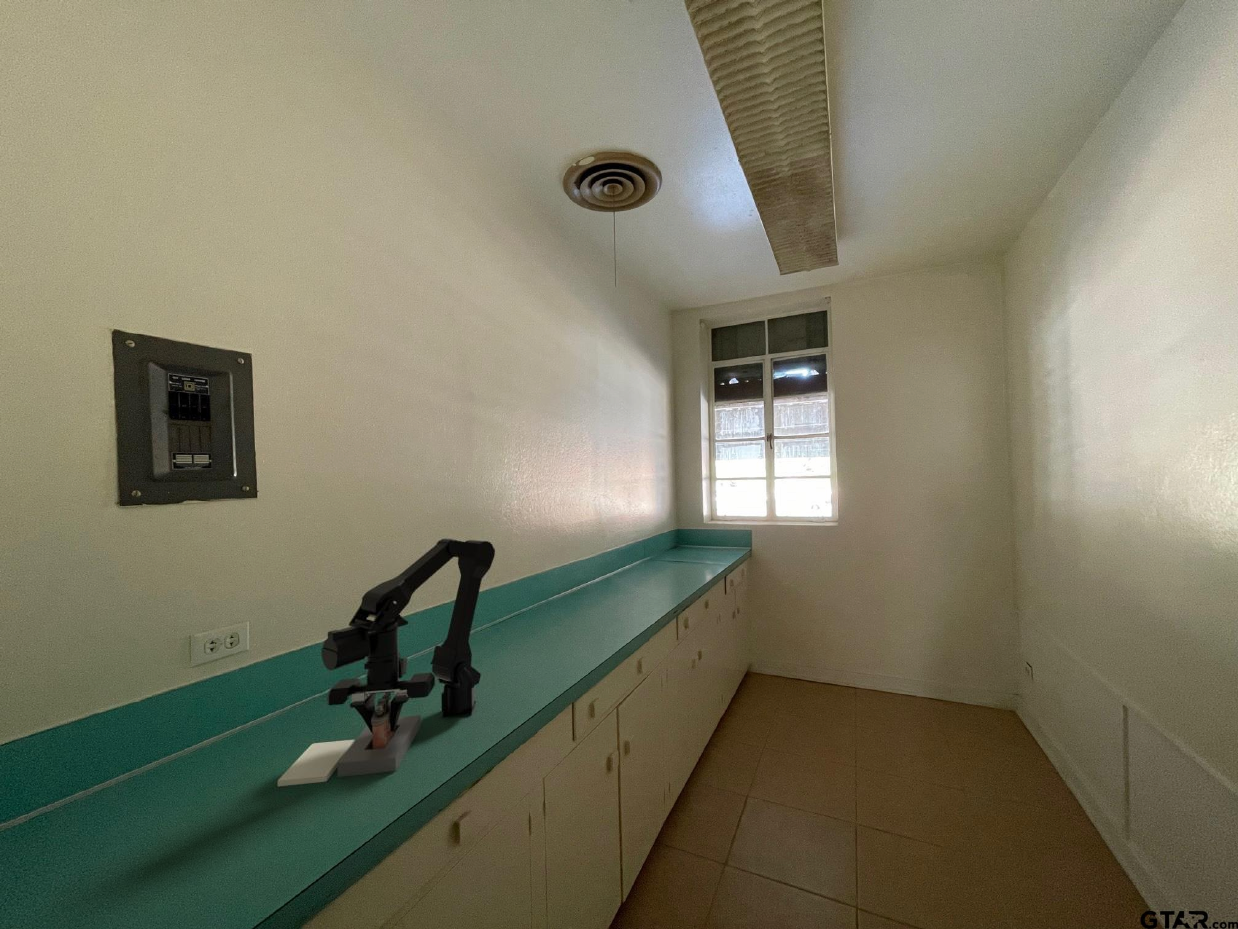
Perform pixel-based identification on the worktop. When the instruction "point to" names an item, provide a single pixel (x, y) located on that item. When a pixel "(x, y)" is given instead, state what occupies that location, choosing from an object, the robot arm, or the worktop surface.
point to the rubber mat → (316, 763)
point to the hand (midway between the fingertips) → (383, 731)
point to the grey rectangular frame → (379, 750)
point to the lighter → (382, 723)
